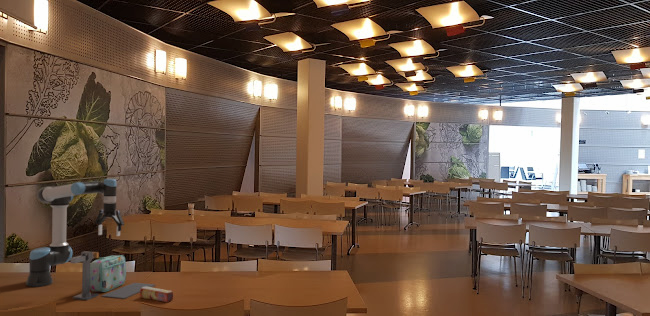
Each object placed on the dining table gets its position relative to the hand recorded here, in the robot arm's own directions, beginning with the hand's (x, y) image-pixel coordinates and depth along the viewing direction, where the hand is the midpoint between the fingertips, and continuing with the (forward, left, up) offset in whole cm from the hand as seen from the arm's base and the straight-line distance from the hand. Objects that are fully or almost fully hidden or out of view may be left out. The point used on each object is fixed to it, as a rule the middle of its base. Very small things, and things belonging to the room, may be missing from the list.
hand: (109, 235), depth 310 cm
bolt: (0, -22, -11) cm, 25 cm away
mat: (+16, 0, -34) cm, 38 cm away
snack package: (+42, -11, -35) cm, 56 cm away
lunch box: (0, 0, -35) cm, 35 cm away
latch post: (0, -20, -34) cm, 40 cm away
